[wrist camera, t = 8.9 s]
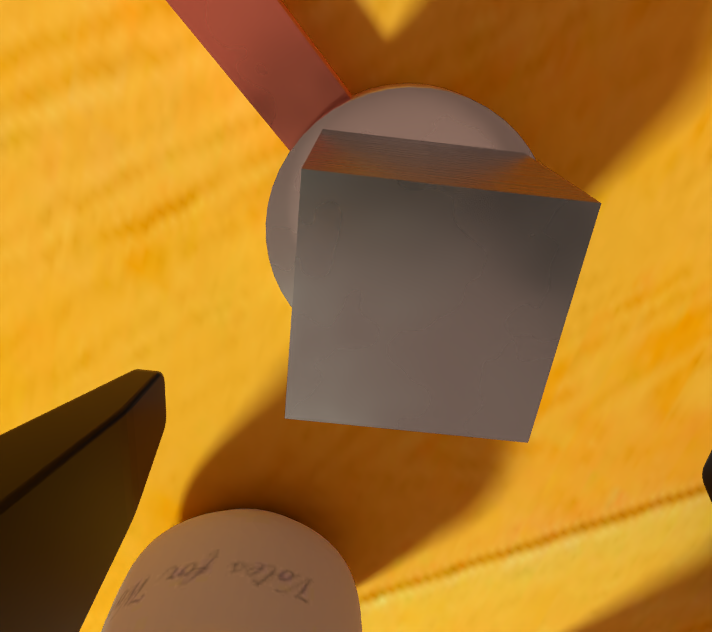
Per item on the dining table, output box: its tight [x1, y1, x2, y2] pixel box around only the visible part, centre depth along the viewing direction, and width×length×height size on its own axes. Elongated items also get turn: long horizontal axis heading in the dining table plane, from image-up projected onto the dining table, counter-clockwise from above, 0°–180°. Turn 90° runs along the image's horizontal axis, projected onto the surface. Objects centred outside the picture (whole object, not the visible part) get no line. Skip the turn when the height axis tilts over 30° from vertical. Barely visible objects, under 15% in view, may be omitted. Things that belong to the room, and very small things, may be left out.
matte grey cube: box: [285, 129, 601, 443], centre depth 15 cm, size 6×6×6 cm
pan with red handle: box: [166, 0, 535, 307], centre depth 16 cm, size 18×9×5 cm, turn 39°
